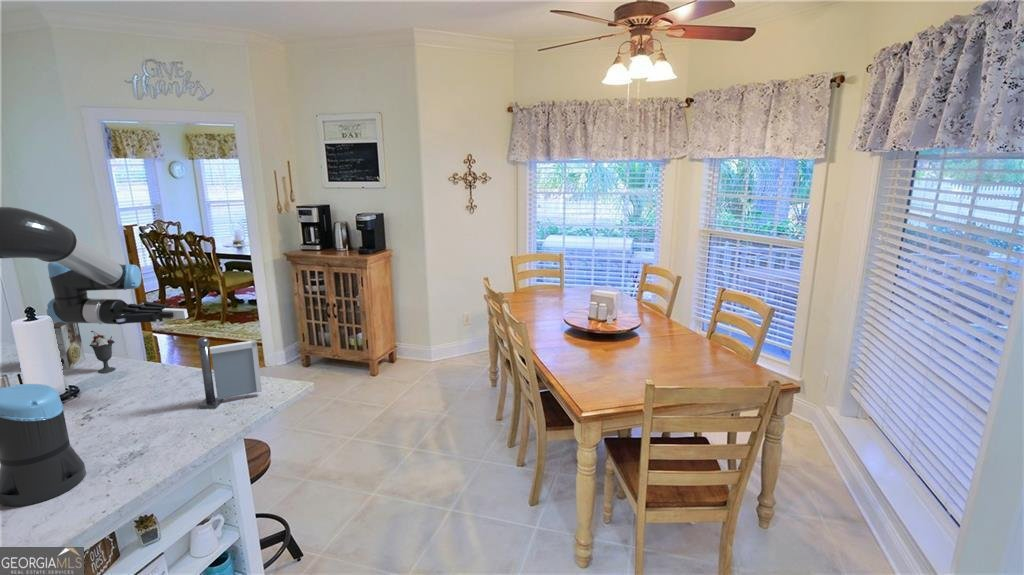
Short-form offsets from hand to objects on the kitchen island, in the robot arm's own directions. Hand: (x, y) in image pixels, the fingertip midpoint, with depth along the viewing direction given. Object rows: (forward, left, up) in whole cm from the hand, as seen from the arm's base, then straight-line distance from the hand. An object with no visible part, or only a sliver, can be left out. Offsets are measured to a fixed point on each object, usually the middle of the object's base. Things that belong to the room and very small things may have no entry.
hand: (185, 313), depth 156 cm
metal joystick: (+2, -10, -27) cm, 29 cm away
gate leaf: (+9, -12, -25) cm, 29 cm away
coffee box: (-30, +54, -27) cm, 67 cm away
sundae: (-20, +40, -27) cm, 52 cm away
